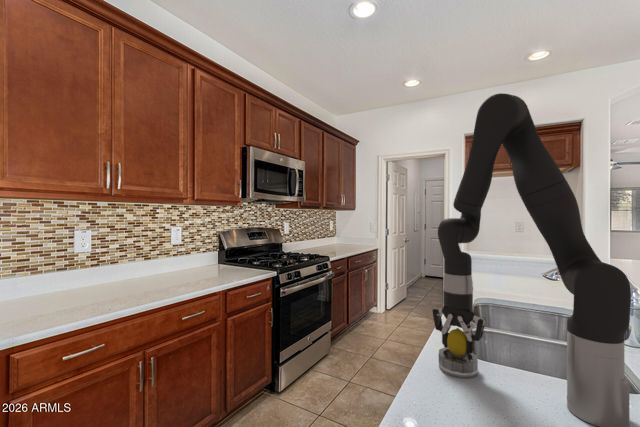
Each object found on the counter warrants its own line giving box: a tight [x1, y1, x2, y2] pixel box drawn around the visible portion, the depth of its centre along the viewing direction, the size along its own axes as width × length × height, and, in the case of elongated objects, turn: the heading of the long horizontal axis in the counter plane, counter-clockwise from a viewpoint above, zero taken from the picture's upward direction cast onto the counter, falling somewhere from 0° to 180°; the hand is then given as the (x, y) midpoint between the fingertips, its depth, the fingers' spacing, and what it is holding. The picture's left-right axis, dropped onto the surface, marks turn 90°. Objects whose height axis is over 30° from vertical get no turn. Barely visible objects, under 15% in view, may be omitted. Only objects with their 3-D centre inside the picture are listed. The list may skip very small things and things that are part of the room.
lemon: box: [447, 327, 468, 357], centre depth 85 cm, size 6×6×8 cm
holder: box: [438, 347, 479, 380], centre depth 85 cm, size 10×10×4 cm
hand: (457, 349), depth 85 cm, fingers closed on lemon, 5 cm apart
